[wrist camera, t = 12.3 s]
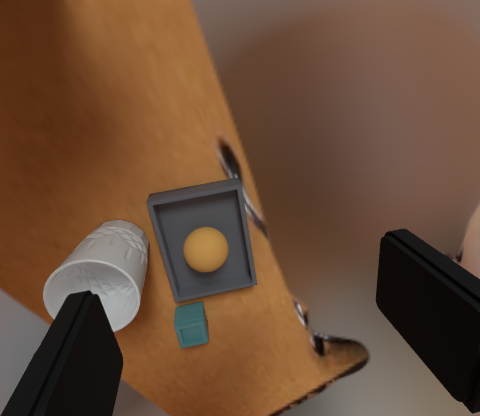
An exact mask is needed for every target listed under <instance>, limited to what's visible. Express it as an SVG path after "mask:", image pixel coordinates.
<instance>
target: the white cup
mask: <svg viewBox="0 0 480 416" xmlns="http://www.w3.org/2000/svg"><path fill="white" fill-rule="evenodd" d="M148 255H149V241H148V239H147V237H146V235H145V234H144V232H143V230H141V229H140V228H139V227H137V226H136V225H134V224H133V223H131V222H127V221H122V220H113V221H106V222H104V223H102V224H101V225H99V226H98V227H96V228H95V229H94V230H93V231H92V232H91V233H90V234H89V235H88V236H87V237H86V238H85V239H84V240H83V241H82V242H81V243H80V244H79V245H78V246H77V247H76V248H75V249H74V250H73V251H72V252H71V253H70V254H69V256H68V257H67V258H66V259H65V260H64V261H63V262H62V263H61V264H60V265H59V267H58V268H57V269H56V270H55V271H54V272H53V273H52V274H51V275H50V277H49V278H48V280H47V281H46V283H45V286H44V290H43V301H44V305H45V307H46V310H47V311H48V313H49V314H50V316H51V317H52V318H53V319H55V317H56V315H57V314H58V312H59V310H60V308H61V306H62V305H63V303H64V301H65V299H66V297H67V296H68V295H69V294H72V293H77V292H82V291H87V290H89V291H91V292H92V293H93V294H98V295H99V297H100V300H101V302H102V305H103V307H104V310H105V312H106V315H107V318H108V320H109V323H110V325H111V328H112V330H113V332H116V331H118V330H120V329H122V328H124V327H125V326H127V325H128V324H129V323H130V322H131V321H132V320H133V319H134V317H135V316H136V314H137V312H138V310H139V307H140V301H141V296H142V291H143V286H144V281H145V276H146V269H147V263H148Z"/></svg>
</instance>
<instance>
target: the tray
mask: <svg viewBox="0 0 480 416" xmlns="http://www.w3.org/2000/svg"><path fill="white" fill-rule="evenodd" d="M147 205H148V209H149V212H150V216H151V219H152V223H153V226H154V229H155V233H156V236H157V240H158V243H159V247H160V250H161V254H162V257H163V260H164V264H165V267H166V271H167V274H168V278H169V281H170V285H171V288H172V291H173V295H174V298H175V302H180V301H184V300H189V299H194V298H198V297H203V296H208V295H212V294H217V293H222V292H226V291H231V290H236V289H240V288H245V287H250V286H254V285H257V280H256V274H255V267H254V261H253V255H252V249H251V242H250V236H249V230H248V223H247V217H246V211H245V205H244V198H243V192H242V186H241V183H240V181H239V179H238V178H233V179H228V180H223V181H217V182H212V183H207V184H202V185H196V186H191V187H186V188H180V189H175V190H170V191H164V192H159V193H154V194H150V195H149V198H148V200H147ZM201 227H211V228H215V229H217V230H218V231H220V232H221V233H222V234H223V235H224V236H225V238H226V240H227V242H228V247H229V251H228V256H227V259H226V261H225V262H224V264H223V265H222V266H221V267H220V268H218V269H217V270H215V271H212V272H199V271H197V270H195V269H193V268H192V267H190V266H189V264H188V263H187V262H186V260H185V257H184V253H183V246H184V242H185V240H186V238H187V237H188V235H189V234H190V233H191V232H192V231H194V230H196V229H198V228H201Z"/></svg>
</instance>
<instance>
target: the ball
mask: <svg viewBox="0 0 480 416" xmlns="http://www.w3.org/2000/svg"><path fill="white" fill-rule="evenodd" d="M228 251H229V247H228V242H227V240H226V238H225V236H224V235H223V234H222V233H221V232H220V231H218V230H217V229H215V228H211V227H201V228H198V229H196V230H194V231H192V232H191V233H190V234H189V235H188V237H187V238H186V240H185V242H184V246H183V253H184V257H185V260H186V262H187V263H188V264H189V266H190V267H192V268H193V269H195V270H197V271H199V272H212V271H215V270H217V269H218V268H220V267H221V266H222V265H223V264H224V262H225V261H226V259H227V256H228Z"/></svg>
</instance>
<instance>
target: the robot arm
mask: <svg viewBox="0 0 480 416" xmlns="http://www.w3.org/2000/svg"><path fill="white" fill-rule="evenodd" d="M376 303H377V306H378V308H379V309H380V310H381V312H382V313H383V314H384V316H385V317H386V318H387V319H388V320H389V321H390V323H391V324H392V325H393V326H394V327H395V329H396V330H397V331H398V332H399V333H400V335H401V336H402V337H403V338H404V339H405V341H406V342H407V343H408V344H409V345H410V347H411V348H412V349H413V350H414V351H415V353H416V354H417V355H418V356H419V357H420V359H421V360H422V361H423V362H424V363H425V365H426V366H427V367H428V368H429V369H430V370H431V372H432V373H433V374H434V375H435V376H436V378H437V379H438V380H439V381H440V382H441V384H442V385H443V386H444V387H445V388H446V389H447V391H448V392H449V393H450V394H451V396H452V397H454V399H456V400H457V401H459V402H463V404H464V405H465V406H466V407H467V408H468V410H469V411H470V412H471V413H476V412H480V279H479V278H477V277H476V276H474V275H473V274H471V273H470V272H468V271H467V270H465V269H464V268H462V267H461V266H459V265H458V264H457V263H455V262H454V261H452V260H451V259H449V258H448V257H446V256H445V255H443V254H442V253H440V252H439V251H437V250H436V249H435V248H433V247H432V246H430V245H429V244H427V243H426V242H424V241H423V240H421V239H420V238H418V237H417V236H416V235H414V234H412V233H411V232H409V231H408V230H406V229H399V230H394V231H389V232H386V234H385V236H384V237H382V239H381V242H380V254H379V267H378V279H377V292H376ZM122 369H123V356H122V353H121V350H120V348H119V345H118V343H117V340H116V338H115V335H114V333H113V330H112V328H111V325H110V323H109V320H108V318H107V315H106V312H105V310H104V307H103V305H102V302H101V300H100V297H99V295H98V294H93V293H92V292H91V291H89V290H87V291H82V292H77V293H72V294H69V295H68V296H67V297H66V299H65V301H64V303H63V305H62V306H61V308H60V310H59V312H58V314H57V315H56V317H55V319H54V321H53V323H52V325H51V326H50V328H49V330H48V332H47V334H46V336H45V337H44V339H43V341H42V343H41V345H40V347H39V348H38V350H37V351H36V353H35V354H34V356H33V358H32V360H31V362H30V363H29V365H28V367H27V369H26V371H25V372H24V374H23V376H22V378H21V380H20V382H19V383H18V385H17V387H16V389H15V391H14V392H13V394H12V396H11V398H10V400H9V401H8V403H7V405H6V407H5V409H4V410H3V412H2V414H1V416H112V414H113V410H114V405H115V400H116V396H117V391H118V386H119V382H120V378H121V373H122Z"/></svg>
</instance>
